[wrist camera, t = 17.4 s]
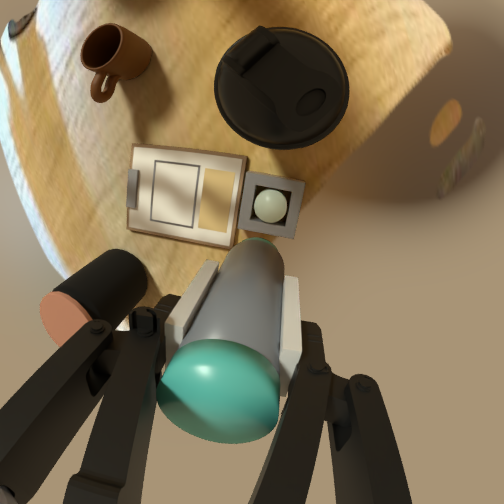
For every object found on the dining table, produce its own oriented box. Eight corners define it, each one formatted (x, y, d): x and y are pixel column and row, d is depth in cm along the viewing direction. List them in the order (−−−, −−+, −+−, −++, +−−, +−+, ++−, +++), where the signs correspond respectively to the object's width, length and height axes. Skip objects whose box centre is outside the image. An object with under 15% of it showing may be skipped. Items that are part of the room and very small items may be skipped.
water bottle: (284, 163, 40) (282, 183, 18) (232, 114, 38) (171, 82, 16) (335, 115, 36) (390, 83, 15) (282, 66, 35) (276, -14, 13)
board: (134, 143, 41) (129, 143, 39) (247, 156, 40) (246, 156, 38) (128, 227, 46) (124, 230, 44) (233, 248, 45) (231, 251, 43)
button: (259, 184, 41) (257, 187, 38) (289, 190, 41) (289, 194, 38) (254, 214, 43) (251, 219, 40) (283, 219, 42) (283, 225, 40)
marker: (233, 226, 21) (155, 351, 8) (291, 240, 21) (295, 386, 8) (223, 278, 23) (156, 425, 10) (277, 291, 23) (261, 451, 10)
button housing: (248, 170, 40) (246, 172, 38) (304, 181, 40) (305, 183, 38) (240, 223, 43) (237, 228, 41) (293, 233, 43) (293, 239, 41)
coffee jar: (99, 288, 51) (44, 339, 34) (102, 238, 47) (35, 281, 30) (146, 308, 51) (98, 370, 34) (154, 257, 47) (96, 313, 30)
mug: (144, 106, 38) (111, 100, 30) (105, 107, 39) (69, 103, 30) (157, 37, 34) (129, 18, 25) (118, 41, 34) (86, 27, 26)
